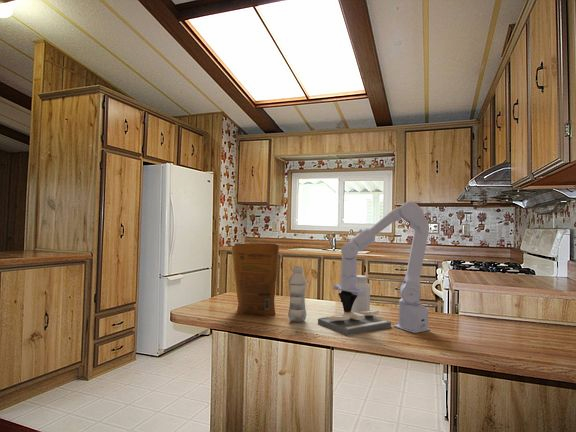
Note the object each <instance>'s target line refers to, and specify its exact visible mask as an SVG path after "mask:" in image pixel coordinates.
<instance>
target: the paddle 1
mask: <svg viewBox="0 0 576 432" xmlns="http://www.w3.org/2000/svg"><path fill="white" fill-rule="evenodd" d="M339 315H340V314H336V315H331V316H330V315H329V316H330V317H329V316H328V317H329V320H347V319H350V317H349V315H348V316H339Z"/></svg>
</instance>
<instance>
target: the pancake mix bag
mask: <svg viewBox="0 0 576 432" xmlns="http://www.w3.org/2000/svg"><path fill="white" fill-rule="evenodd" d="M279 250H280V245H279V244H276V243H266V242H265V243H263V242H261V243H260V242H258V243H257V242H254V243H239V242H237V243H234V245H232V246H231V256H232V265H233V266H232V267H233V272H234V280H235V289H236V290H235V291H236V298H237V303H238V304H237V308H236V311H237V312H238V313H239V314H245V315H256V316H257V315H258V316H273V315H276V307H275V297H276V285H277V283H276V282H277V277H278V264H279V262H278V261H279V254H280V253H279Z"/></svg>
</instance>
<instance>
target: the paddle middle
mask: <svg viewBox="0 0 576 432" xmlns="http://www.w3.org/2000/svg"><path fill="white" fill-rule="evenodd" d="M343 314H344V316H348V315H349V317H350V318H352V319H355V320H360V319H365V315H362V314H359V313H355V312H352V311H351V312H344V311H343Z"/></svg>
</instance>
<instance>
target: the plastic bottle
mask: <svg viewBox="0 0 576 432" xmlns="http://www.w3.org/2000/svg"><path fill="white" fill-rule="evenodd" d="M303 273H304V267H303V266H292V275H290V277H289V279H288V289H289V307H288V313H287V316H288V319H289V321H290V322H294V323H302V322H305V321H306V319H307V309H306V301H305V299H306V297H305V296H306V289H307V278H306V276H305V275H304V274H303Z"/></svg>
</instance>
